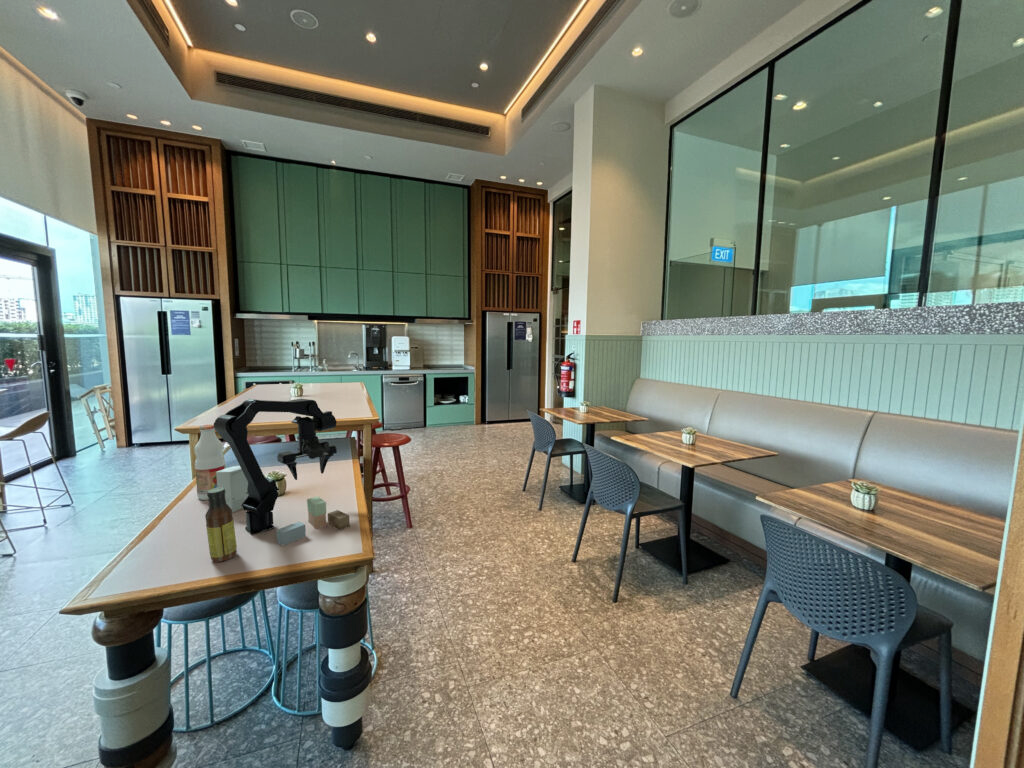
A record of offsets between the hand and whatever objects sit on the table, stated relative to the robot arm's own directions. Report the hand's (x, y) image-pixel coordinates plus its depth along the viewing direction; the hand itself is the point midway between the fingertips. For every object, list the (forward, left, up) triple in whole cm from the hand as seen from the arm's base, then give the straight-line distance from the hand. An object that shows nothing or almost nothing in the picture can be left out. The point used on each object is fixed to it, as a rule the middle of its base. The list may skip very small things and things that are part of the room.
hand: (309, 476), depth 147 cm
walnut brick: (0, -21, -12) cm, 24 cm away
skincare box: (-18, +21, -12) cm, 30 cm away
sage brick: (-4, -14, -8) cm, 17 cm away
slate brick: (-14, -19, -12) cm, 27 cm away
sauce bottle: (-31, -16, -12) cm, 37 cm away
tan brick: (-4, -14, -12) cm, 19 cm away
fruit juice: (-20, +41, -12) cm, 47 cm away
